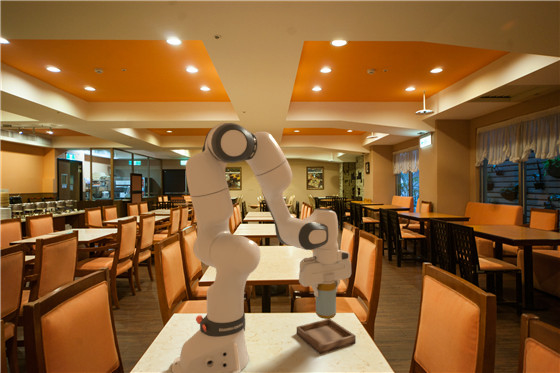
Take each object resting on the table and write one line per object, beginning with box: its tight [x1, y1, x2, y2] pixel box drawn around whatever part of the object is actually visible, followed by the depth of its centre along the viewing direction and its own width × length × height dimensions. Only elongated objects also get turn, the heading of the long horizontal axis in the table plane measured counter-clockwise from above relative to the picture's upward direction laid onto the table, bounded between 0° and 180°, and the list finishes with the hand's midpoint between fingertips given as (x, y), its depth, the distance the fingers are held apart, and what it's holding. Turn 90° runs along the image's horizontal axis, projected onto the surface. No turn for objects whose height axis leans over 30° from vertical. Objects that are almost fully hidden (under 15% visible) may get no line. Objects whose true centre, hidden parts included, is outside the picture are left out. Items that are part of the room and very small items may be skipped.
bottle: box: [315, 273, 337, 320], centre depth 105 cm, size 7×7×15 cm
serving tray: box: [296, 318, 357, 355], centre depth 105 cm, size 15×15×2 cm
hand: (325, 294), depth 105 cm, fingers closed on bottle, 6 cm apart
